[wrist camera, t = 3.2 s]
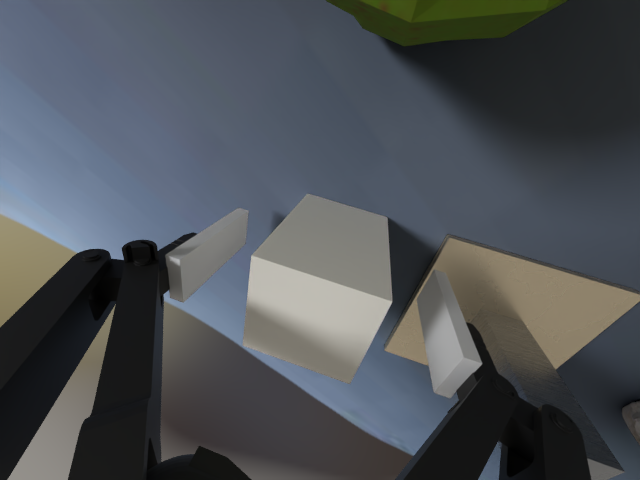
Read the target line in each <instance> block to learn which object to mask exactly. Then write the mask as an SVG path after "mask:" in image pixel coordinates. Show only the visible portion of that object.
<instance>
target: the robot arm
mask: <svg viewBox="0 0 640 480" xmlns="http://www.w3.org/2000/svg"><path fill="white" fill-rule="evenodd" d="M247 223H248V211H247V210H244V209H241V208H237V209H236V210H234V211H233V212H231V213H229V214H228V215H226V216H225V217H223V218H222V219H220V220H219V221H217V222H216V223H214V224H212V225H211V226H209V227H208V228H206V229H205V230H203V231H202V232H200V233H198V234H196V233H190V234H186V235H183V236H182V237H180V238H178V239H177V240H175V241H174V242H172V243H171V244H169V245H167V246H165V247H164V248H162V249H160V250H159V251H157V245H156V243H154V242H153V241H149V240H136V241H132V242H129V243H127V244H125V245H124V246H123V247H122V252H123V257H124V260H117V259H111V256H110V253H109V252H108V251H106V250H103V249H89V250H85V251H82V252H79V253H77V254H76V255H74V256H73V257H72V258H71V259H70V260H69V261H68V262H67V263H66V264H65V265H64V266H63V267H62V268H61V269H60V270H59V271H58V272H57V273H56V274H55V275H54V276H53V277H52V278H51V279H50V280H48V281H47V283H46V284H44V285H43V286H42V287H41V288H40V289H39V290H38V291H37V292H36V293H35V294H34V295H33V296H32V297H31V298H30V299H29V300H28V301H27V302H26V303H25V304H24V305H23V306H22V307H21V308H20V309H19V310H18V311H17V312H16V313H15V314H14V315H13V316H12V317H11V318H10V319H9V320H7V322H5V323H4V324H3V325H2V326H1V327H0V480H7V479H8V478H9V476H10V475H11V473H12V471H13V469H14V468H15V466H16V465H17V463H18V461H19V459H20V458H21V457H22V455H23V453H24V452H25V450H26V449H27V447H28V445H29V444H30V442H31V440H32V439H33V437H34V436H35V434H36V432H37V431H38V429H39V427H40V426H41V424H42V423H43V421H44V419H45V418H46V416H47V414H48V413H49V411H50V410H51V408H52V406H53V405H54V403H55V401H56V400H57V398H58V397H59V395H60V393H61V392H62V390H63V388H64V387H65V385H66V384H67V382H68V380H69V379H70V377H71V375H72V374H73V372H74V371H75V369H76V367H77V366H78V364H79V363H80V361H81V359H82V358H83V356H84V354H85V353H86V351H87V350H88V348H89V346H90V345H91V343H92V341H93V340H94V338H95V337H96V335H97V333H98V332H99V330H100V328H101V327H102V325H103V324H104V322H105V320H106V319H107V317H108V315H109V314H110V312H111V310H112V309H113V307H114V306H115V304H116V306H115V310H114V315H113V320H112V324H111V328H110V333H109V338H108V342H107V346H106V351H105V356H104V360H103V365H102V369H101V374H100V379H99V383H98V387H97V392H96V397H95V401H94V405H93V410H92V413H91V415H90V417H88V418H87V419H85V420H84V422H83V424H82V426H81V430H80V433H79V436H78V441H77V445H76V448H75V453H74V457H73V461H72V465H71V469H70V473H69V477H68V480H251V479H250V478H249V477H248V476H247V475H246V474H245V473H244V472H242V471H241V470H240V469H239V468H238V467H237V466H236V465H235V464H234V463H233V462H232V461H231V460H229V459H228V458H227V457H225V456H222V455H220V454H218V453H215V452H213V451H211V450H208V449H206V448H203V447H201V446H199V447H198V449H197V451H196V453H195V454H189V455H181V456H177V457H173V458H171V459H168V460H166V461H163V462H161V441H160V425H161V386H162V347H163V346H162V345H163V309H164V308H163V307H164V305H163V304H164V297H163V294H164V293H166V292H167V291H168V290H169V292H170V298H172V299H175V300H178V301H180V302H185V301H186V300H187V299H188V298H189V297H190V296H191V295H192V294H193V293H194V292H195V291H196V290H197V289H198V288H199V287H200V286H201V285H203V284H204V283H205V282H206V281H207V280H208V279H209V278H210V277H211V276H212V275H213V274H214V273H215V272H216V271H217V270H218V269H219V268H221V267H222V266H223V265H224V264H225V263H226V262H227V261H228V260H229V259H230V258H231V257H232V256H233V255H234V254H235V253H236V252H237V251H239V250H240V249H241V248H242V247H243V246H244V245H245V244H246V234H247ZM417 305H418V311H419V316H420V321H421V327H422V332H423V337H424V343H425V348H426V353H427V359H428V364H429V369H430V375H431V380H432V385H433V391H434V393H436V394H439V395H442V396H445V397H447V398H451V397H452V396H453V395H454V394H455V393H456V392H457V395H458V398H459V401H458V402H457V403H456V404H455V405H454V406H453V407H452V408H451V409H450V410H449V411H448V414H447V415H446V416H445V418H444V419H443V420H442V421H441V423H440V424H439V425H438V426H437V428H436V429H435V430H434V431H433V433H432V434H431V435H430V436H429V438H428V439H427V440H426V441H425V443H424V444H423V445H422V446H421V448H420V449H419V450H418V451H417V453H416V454H415V455H414V456H413V458H412V459H411V460H410V461H409V463H408V464H407V465H406V466H405V468H404V469H403V470H402V472H401V473H400V474H399V475H398V476H397V478H396V479H395V480H478V478H479V477H480V475H481V473H482V471H483V469H484V467H485V465H486V463H487V461H488V459H489V457H490V455H491V454H492V452H493V450H494V448H495V446H496V444H497V442H498V441H500V442H501V443H502V446H501V459H500V472H499V480H591V475H590V470H589V465H588V460H587V455H586V450H585V445H584V440H583V436H582V434H581V431H580V430H579V428H578V427H577V425H576V424H575V423H574V422H573V420H572V419H570V417H569V416H568V415H566V414H565V413H564V412H562V411H561V410H560V409H558V408H556V407H554V406H553V405H549V404H544V405H542V406H541V407H539V408H537V407H535V406H533V405H532V404H530V403H528V402H527V401H525V400H523V399H522V398H520V397H519V395H518V393H517V391H516V389H515V388H514V386H513V385H512V384H511V383H510V382H509V381H508V380H507V379H506V378H504V377H503V376H501V375H500V374H498V372H497V370H496V367H495V365H494V363H493V361H492V358H491V356H490V354H489V352H488V350H487V347H486V345H485V343H484V341H483V338H482V336H481V334H480V332H479V331H478V330H477V329H476V327H475V326H474V325H473V324H471V323H468V322H465V319H464V317H463V314H462V312H461V309H460V307H459V304H458V302H457V300H456V297H455V295H454V292H453V290H452V287H451V285H450V282H449V280H448V277H447V275H446V273H444V272H441V271H438V270H435V269H434V270H433V272H432V274H431V275H430V277H429V279H428V281H427V282H426V284H425V286H424V288H423V289H422V291H421V293H420V294H419V296H418V298H417Z"/></svg>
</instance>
